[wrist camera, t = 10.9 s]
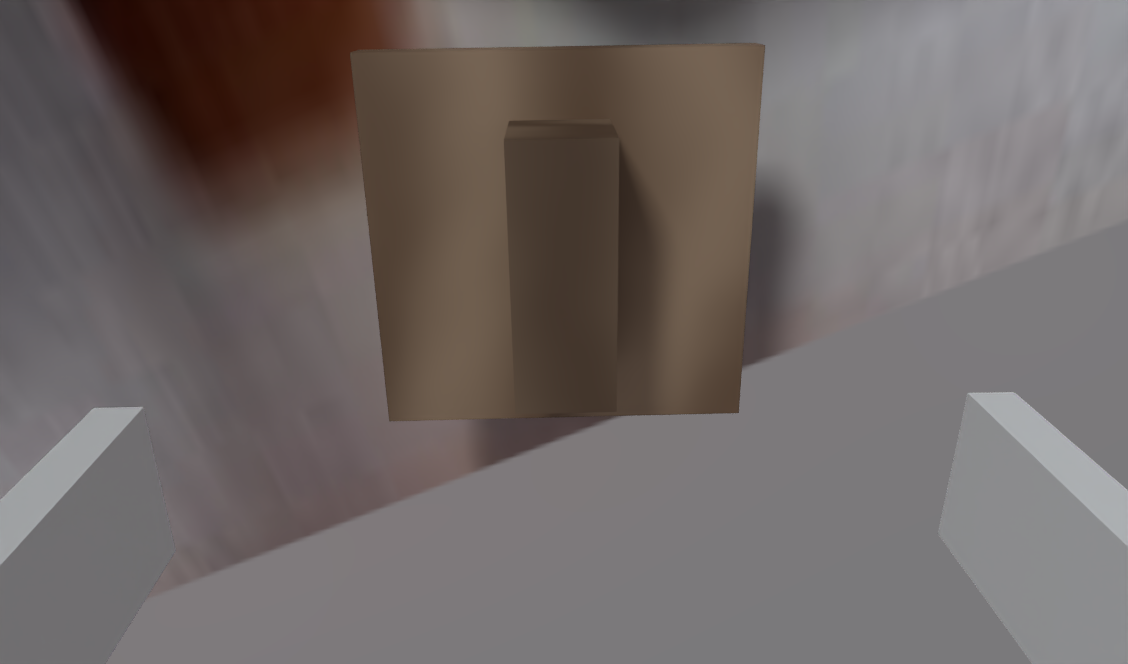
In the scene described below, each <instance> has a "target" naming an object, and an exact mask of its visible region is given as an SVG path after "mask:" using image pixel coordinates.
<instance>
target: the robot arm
mask: <svg viewBox="0 0 1128 664" xmlns="http://www.w3.org/2000/svg"><path fill="white" fill-rule="evenodd" d="M938 535H939V536H940V537H941V539H942V540H943V541H944V543H945V544H946V545H947V547H948V548H949V550H950V551H951V552H952V554H953V555H954V557H955V558H956V559H957V561H958V562H959V563H960V565H961V566H962V568H963V569H964V570H965V572H966V573H967V575H968V576H969V577H970V578H971V580H972V581H973V583H974V584H975V586H976V587H977V588H978V590H979V591H980V592H981V594H982V595H983V597H984V598H985V599H986V601H987V602H988V603H989V605H990V606H991V608H992V609H993V610H994V612H995V613H996V614H997V616H998V617H999V619H1000V620H1001V621H1002V623H1003V624H1004V625H1005V627H1006V628H1007V630H1008V631H1009V632H1010V634H1011V635H1012V636H1013V638H1014V639H1015V641H1016V642H1017V643H1018V645H1019V646H1020V647H1021V649H1022V650H1023V652H1024V653H1025V654H1026V656H1027V657H1028V659H1029V660H1030V661H1031V663H1032V664H1128V490H1127V489H1125V488H1124V487H1123V486H1122V485H1121V484H1120V483H1118V482H1117V481H1116V480H1115V479H1114V478H1113V477H1112V476H1110V475H1109V474H1108V473H1107V472H1106V471H1105V470H1104V469H1102V468H1101V467H1100V466H1099V465H1098V464H1097V463H1095V462H1094V461H1093V460H1092V459H1091V458H1090V457H1088V456H1087V455H1086V454H1085V453H1084V452H1083V451H1082V450H1080V449H1079V448H1078V447H1077V446H1076V445H1075V444H1074V443H1072V442H1071V441H1070V440H1069V439H1068V438H1067V437H1065V436H1064V435H1063V434H1062V433H1061V432H1060V431H1058V430H1057V429H1056V428H1055V427H1054V426H1053V425H1052V424H1050V423H1049V422H1048V421H1047V420H1046V419H1045V418H1043V417H1042V416H1041V415H1040V414H1039V413H1038V412H1037V411H1035V410H1034V409H1033V408H1032V407H1031V406H1029V405H1028V404H1027V403H1026V402H1025V401H1024V400H1022V399H1021V398H1020V397H1019V396H1018V395H1017V394H1016V393H1015V392H1004V393H1003V392H1002V393H968V394H967V399H966V404H965V409H964V413H963V418H962V423H961V428H960V432H959V437H958V441H957V446H956V451H955V456H954V460H953V465H952V470H951V475H950V480H949V484H948V489H947V494H946V498H945V503H944V508H943V513H942V517H941V522H940V527H939V532H938ZM175 551H176V549H175V545H174V540H173V536H172V531H171V527H170V523H169V518H168V514H167V509H166V505H165V500H164V496H163V491H162V487H161V483H160V478H159V474H158V469H157V465H156V460H155V456H154V451H153V447H152V442H151V438H150V434H149V429H148V425H147V420H146V416H145V411H144V407H116V408H93V409H92V410H91V411H90V412H89V413H88V414H87V415H86V416H85V417H84V418H83V419H82V420H81V421H80V422H79V423H78V424H77V425H76V426H75V427H74V428H73V429H72V430H71V431H70V432H69V433H68V434H67V435H66V436H65V437H64V438H63V439H62V440H61V441H60V442H59V443H58V444H57V445H56V446H55V447H54V448H53V449H52V450H51V451H49V452H48V453H47V454H46V455H45V456H44V457H43V458H42V459H41V460H40V461H39V462H38V463H37V464H36V465H35V466H34V467H33V468H32V469H31V470H30V471H29V472H28V473H27V474H26V475H25V476H24V477H23V478H22V479H21V480H20V481H19V482H18V483H17V484H16V485H15V486H14V487H13V488H12V489H11V490H10V491H9V492H8V493H7V494H6V495H5V496H4V497H3V498H2V499H1V500H0V664H106V662H107V661H108V659H109V657H110V656H111V654H112V652H113V651H114V649H115V648H116V646H117V644H118V643H119V641H120V640H121V638H122V636H123V635H124V633H125V632H126V630H127V628H128V627H129V625H130V624H131V622H132V620H133V619H134V617H135V616H136V614H137V612H138V611H139V609H140V607H141V606H142V604H143V603H144V601H145V599H146V598H147V596H148V595H149V593H150V591H151V590H152V588H153V587H154V585H155V583H156V582H157V580H158V579H159V577H160V575H161V574H162V572H163V571H164V569H165V567H166V566H167V564H168V562H169V561H170V559H171V558H172V556H173V554H174V553H175Z"/></svg>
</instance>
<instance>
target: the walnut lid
mask: <svg viewBox="0 0 1128 664" xmlns="http://www.w3.org/2000/svg"><path fill="white" fill-rule="evenodd" d="M764 53H765V45H761V44H757V43H726V44H669V45H613V46H556V47H499V48H442V49H385V50H357V51H354V52H351V53H350V57H351V67H352V76H353V85H354V95H355V104H356V113H357V123H358V132H359V141H360V151H361V160H362V169H363V179H364V188H365V197H366V207H367V216H368V225H369V235H370V244H371V253H372V263H373V272H374V281H375V291H376V300H377V309H378V319H379V328H380V337H381V347H382V356H383V365H384V375H385V384H386V393H387V403H388V412H389V421H417V420H459V419H501V418H544V417H586V416H628V415H671V414H712V413H739V400H740V386H741V372H742V358H743V344H744V330H745V317H746V303H747V289H748V275H749V261H750V247H751V233H752V219H753V205H754V192H755V178H756V164H757V150H758V136H759V122H760V108H761V94H762V80H763V67H764Z"/></svg>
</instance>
